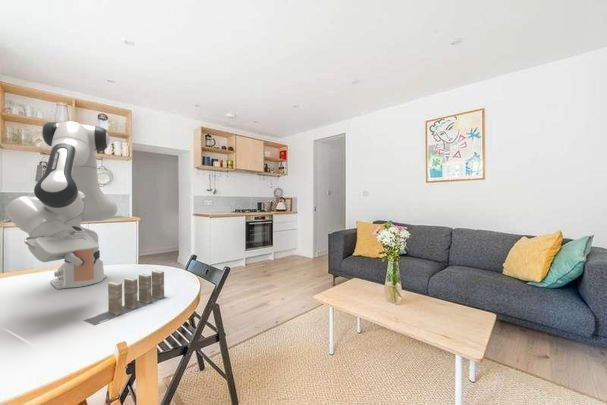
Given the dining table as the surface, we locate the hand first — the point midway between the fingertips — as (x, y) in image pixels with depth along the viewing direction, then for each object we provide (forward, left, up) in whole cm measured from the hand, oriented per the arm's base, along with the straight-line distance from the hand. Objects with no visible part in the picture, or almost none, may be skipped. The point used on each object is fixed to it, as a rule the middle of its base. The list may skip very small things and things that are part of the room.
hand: (85, 263), depth 84 cm
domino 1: (+7, +5, -17) cm, 19 cm away
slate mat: (+7, +10, -17) cm, 21 cm away
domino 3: (+7, +15, -17) cm, 24 cm away
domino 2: (+7, +10, -17) cm, 21 cm away
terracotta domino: (0, 0, -5) cm, 5 cm away
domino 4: (+7, +20, -17) cm, 27 cm away
